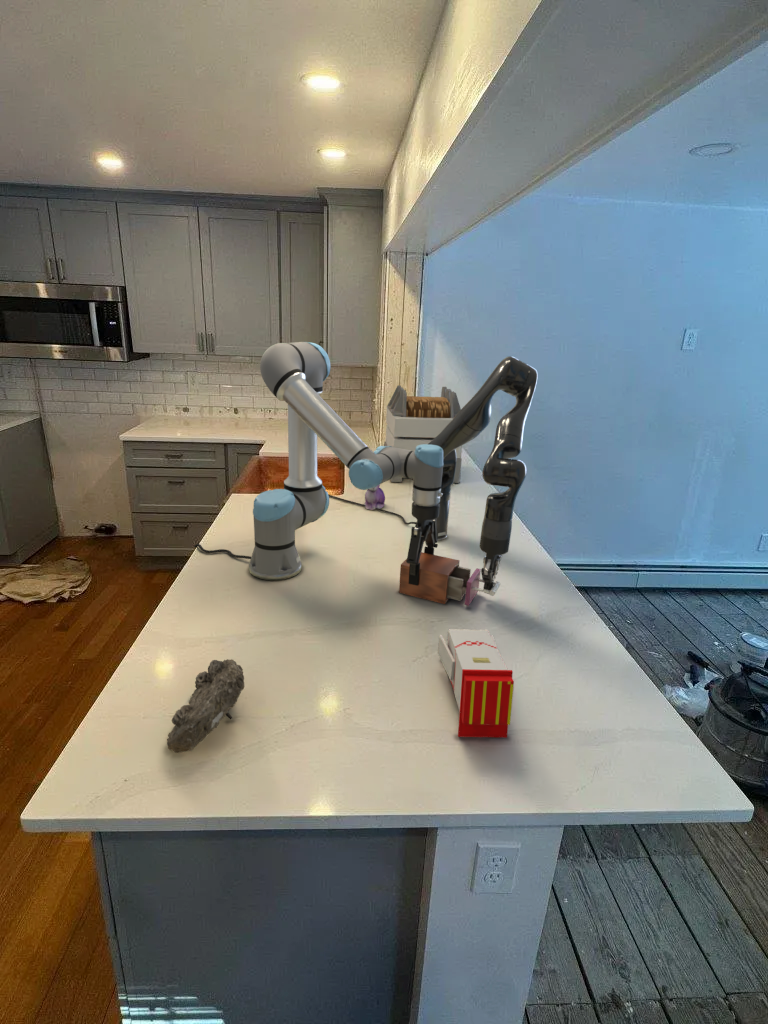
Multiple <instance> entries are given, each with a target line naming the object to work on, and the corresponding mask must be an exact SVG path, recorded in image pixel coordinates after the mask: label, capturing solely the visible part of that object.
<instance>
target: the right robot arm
mask: <svg viewBox="0 0 768 1024" xmlns="http://www.w3.org/2000/svg"><path fill="white" fill-rule="evenodd" d="M538 375H539V374H538V371H537V369H536V368H534V367H533V366H531V365H530V364H528V363H526V362H524V361H521V359H518V358H517V357H514V356H511V355H510V356H506V357H505V358H503V359H502V360H501V361H500V362H499V363H498V364H497V365H496V367H495V368H494V369H493V371H492V372H491V373H490V374H489V376H488V377H487V378H486V380H485V381H484V383H483V384H482V386H481V387H480V388H479V389H478V391H476V393H475V394H474V395H473V396H472V397H471V398H470V400H469V401H468V402H467V403H465V405H464V406H462V408H461V410H460V411H459V412H458V414H457V415H456V416H455V417H454V418H453V420H452V421H451V422H450V423H449V424H448V425H447V426H446V427H445V428H444V429H443V431H442V432H441V433H440V434H439V435H438V436H436V437H435V438H434V439H433V440H432V441H431V442H429V443H428V445H430V444H432V445H437V446H439V447H441V448H442V449H443V463H444V465H443V472H442V482H441V493H442V496H441V497H440V502H439V504H440V510H439V517H438V518H437V542H440V541H444V540H446V539H447V538H448V525H449V517H450V516H449V514H450V504H451V494H452V493H451V491H452V486H453V484H454V483H453V481H454V475H455V468H456V459H457V457H456V450H455V449H456V448H458V447H460V446H462V447H463V446H464V445H466V444H467V443H469V442H472V441H473V440H474V439H476V438H477V437H478V436H479V435H480V434H481V433H482V432H483V431H484V430H485V429H486V428H487V427H488V426H489V424H490V422H491V419H492V403H493V397H494V395H495V394H496V393H497V392H498V391H502V392H504V393H506V394H508V395H510V396H512V397H514V398H515V405H513V407H511V409H509V410H508V411H507V412H506V413H505V414H503V416H502V417H501V418H500V419H499V421H498V423H497V424H496V429H495V434H494V441H493V446H492V449H491V451H490V454H489V456H488V457H487V459H486V461H485V463H484V465H483V468H482V479H483V481H484V482H485V483H486V484H487V485H489V486H494V487H495V486H496V487H504V488H508V489H506V490H505V491H501V492H500V491H499V492H493V493H489V494H488V495H487V497H486V500H485V510H484V516H483V520H482V524H481V532H480V539H479V549H480V550H481V551H482V552H483V553H484V554H485V556H483V559H482V563H483V566H482V568H480V569H481V572H480V574H481V579H482V580H483V581H485V582H483V589H485V590H489V591H490V590H491V589H492V587H493V584H494V582H495V580H496V578H497V575H498V573H499V572H498V571H499V569H500V564H501V561H502V558H503V555H505V554H508V552H509V548H510V543H511V537H512V529H513V528H512V527H513V517H514V515H513V514H514V508H515V503H516V500H517V498H518V494H519V492H520V490H521V488H522V486H523V484H524V483H525V479H526V477H527V472H528V471H527V465H526V463H525V462H524V461H522V460H520V459H515V458H516V457H518V456H519V455H520V454H521V452H522V449H523V448H522V447H523V440H524V439H523V438H524V430H525V426H526V422H527V421H526V420H527V418H528V414H529V411H530V408H531V404H532V402H533V398H534V394H535V391H536V387H537V383H538ZM328 495H329V498H333V499H336V500H339V501H342V502H346V503H349V504H354V505H358V506H361V507H366V505H364V504H365V503H359V502H356V501H351V500H348V499H344V498H341V497H338V496H335V495H332V494H329V493H328ZM375 510H376V511H379V512H384V513H387V514H390V515H393V516H396V517H399V518H401V520H402V521H403V522H402V523H404V525H406V526H408V525H416V523H417V521H409V522H407V521H406V520H405V518H404V517H403V515H401V514H399V513H396V512H394V511H393V512H392V511H389V510H386V509H382V508H380V509H379V508H375ZM421 537H424V536H421ZM483 593H484V594H488V595H490V594H489V593H485V592H483Z"/></svg>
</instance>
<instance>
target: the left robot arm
mask: <svg viewBox="0 0 768 1024" xmlns="http://www.w3.org/2000/svg"><path fill="white" fill-rule="evenodd" d="M259 370H260V376H261V377H262V381H263V383H264V384H265V386H266V387H267V389H268V390H269V391H270V392H271V393H272V395H274V397H275V398H276V400H278V401H280V402H285V403H286V404H287V441H288V442H287V445H288V447H287V448H288V449H287V450H288V476H287V477H286V478H285V479H284V480H283V488H274V489H268V490H264V491H262V492H260V493H259V494H258V495H257V496H256V497H255V498H254V500H253V507H252V515H253V533H254V548H253V551H252V554H251V556H250V555H242V554H234V553H232V551H231V550H229V549H225V548H220V549H212V550H211V549H210V550H209V549H208V550H207V549H205V548H204V547H203V546H202V544H200V543H196V544H195V545H194V546H193V547H194V548H199V550H201V552H203V553H206V554H215V553H226V554H229V556H231V557H232V558H235V559H245V560H249V564H248V569H249V570H248V571H249V573H250V575H252V576H253V577H255V578H257V579H259V580H265V581H282V580H288V579H290V578H293V577H295V576H297V575H298V574H300V573H301V571H302V559H301V556H300V554H299V551H298V549H297V546H296V531H297V530H298V529H301V528H302V527H304V526H306V525H308V524H310V523H314V522H316V521H318V520H319V519H321V518H322V517H323V516H324V515H325V514H326V513H327V512H328V509H329V506H330V496H329V495H330V494H329V492H328V491H327V490H326V487H325V486H324V485H323V480H322V479H321V478H320V477H319V476H318V438H319V439H320V440H321V441H322V443H324V444H325V445H326V446H327V447H328V448H329V449H330V451H331V452H332V453H333V454H334V455H335V456H336V457H337V458H338V459H339V460H340V461H341V463H343V465H344V466H346V468H347V469H348V478H349V480H350V483H351V484H352V486H353V487H355V488H356V489H358V490H362V491H367V489H370V488H374V487H376V486H378V485H380V486H381V485H382V484H383V483H386V482H388V481H391V480H390V479H392V478H394V477H396V476H398V477H402V478H404V479H410V480H412V481H413V482H412V483H413V484H412V495H411V500H412V503H411V516H412V517H413V518H414V519H416V522H417V523H416V524H414V526H412V527H411V532H410V539H409V540H410V541H409V545H408V552H407V556H406V557H407V558H406V559H407V560H406V559H405V560H406V562H407V563H409V564H410V567H409V583H408V584H412V585H416V586H418V585H419V572H420V563H419V559H420V556H421V552H423V553H428V554H432V555H435V548H436V549H437V548H438V546H439V545H438V541H437V518H438V517H439V510H440V504H439V502H440V497H441V496H442V493H441V482H442V472H443V465H444V463H443V449H442V448H441V447H439V446H437V445H432V444H430V445H428V444H421V445H418V446H417V447H416V449H415V451H411V450H406V449H400V448H394V447H392V446H384V445H379V446H377V447H376V449H375V450H374V451H373V450H372V449H371V448H370V447H369V446H368V445H367V444H366V443H365V442H364V441H363V440H362V439H361V437H360V436H358V435H357V434H356V432H354V430H353V429H352V428H351V427H350V426H349V425H348V424H347V423H346V422H345V421H344V420H343V419H342V417H340V415H339V414H338V413H337V412H336V411H335V410H334V409H333V408H332V407H331V406H330V405H329V404H328V403H327V402H326V401H325V400H324V399H323V398H322V397H321V394H322V393H323V392H324V389H323V388H324V382H325V381H326V380H327V378H328V377H329V376H330V372H331V360H330V357H329V355H328V353H327V351H326V350H325V349H324V348H323V347H322V346H321V345H319V344H317V343H315V342H310V341H296V342H277V343H275V344H273V345H271V346H269V347H267V349H266V350H265V351H264V352H263V354H262V356H261V358H260V361H259ZM328 494H329V495H328ZM421 536H424V537H421ZM424 543H425V546H424ZM423 548H424V549H423Z"/></svg>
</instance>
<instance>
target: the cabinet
mask: <svg viewBox="0 0 768 1024" xmlns="http://www.w3.org/2000/svg"><path fill="white" fill-rule="evenodd" d="M406 560H407V558H405V560H403V561H402V563H400V570H399V588H398V593H399V594H403V595H406V596H410V597H415V598H419V599H423V600H425V601H430V602H435V603H439V604H441V605H442V604H443V605H446V604H447V602H448V601H449V600H450V598H447V589H448V578H449V576H450V575H451V573H452V572H453V571H454V569H455V568H456V567H457V566H459V567H460V560H459V559H455V558H450V557H446V556H441V555H436V554H434V555H432V554H428V553H424V551H422V552H421V556H420V559H419V563H420V572H419V585H418V586H416V585H412V584H408V583H409V567H410V564H409V563H407V562H406Z"/></svg>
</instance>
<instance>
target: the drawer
mask: <svg viewBox="0 0 768 1024" xmlns="http://www.w3.org/2000/svg"><path fill="white" fill-rule="evenodd" d="M481 569H482V568H475V570H474V571H473V573H472V572H471V571H472V568H469V567H463V566H460V565H459V566H457V567H456V568H455V569H454V571H453V572H452V573H451V575H450V576H449V578H448V589H447V598H449V600H450V599H451V600H455V601H459V602H461V601H462V600H463V598H464V605H465V606H467V607H469V606H470V605H471V604H472V602H473V600H474V598H475V597H476V595H477V594H478V592H481V593H484V592H485V593H484V594H487V593H489V594H488V595H489V596H490V597H493V596H495V594H496V593H497V591H498V589H499V588H500V586H501V582H500V581H499V580H497V581H494V584H493V587H492V589H491V590H490V591H489V590H485V589H484V588H480V583H484V582H485V581H483V580H482V578H481ZM471 573H472V574H471ZM464 596H465V597H464Z"/></svg>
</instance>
